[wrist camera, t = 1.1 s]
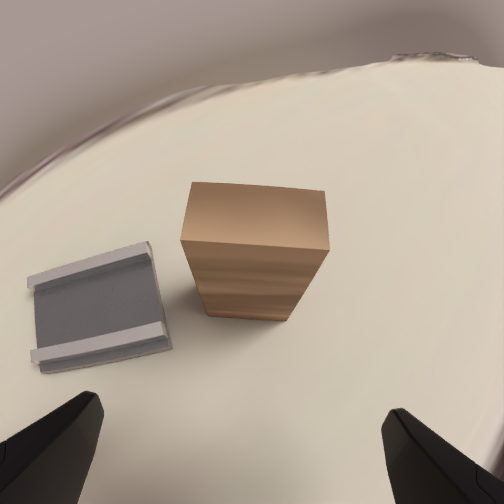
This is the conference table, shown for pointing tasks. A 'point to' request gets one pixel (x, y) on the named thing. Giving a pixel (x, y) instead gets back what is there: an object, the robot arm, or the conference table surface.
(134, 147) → the conference table surface
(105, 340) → the door track
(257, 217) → the upright wooden block
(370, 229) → the conference table surface
